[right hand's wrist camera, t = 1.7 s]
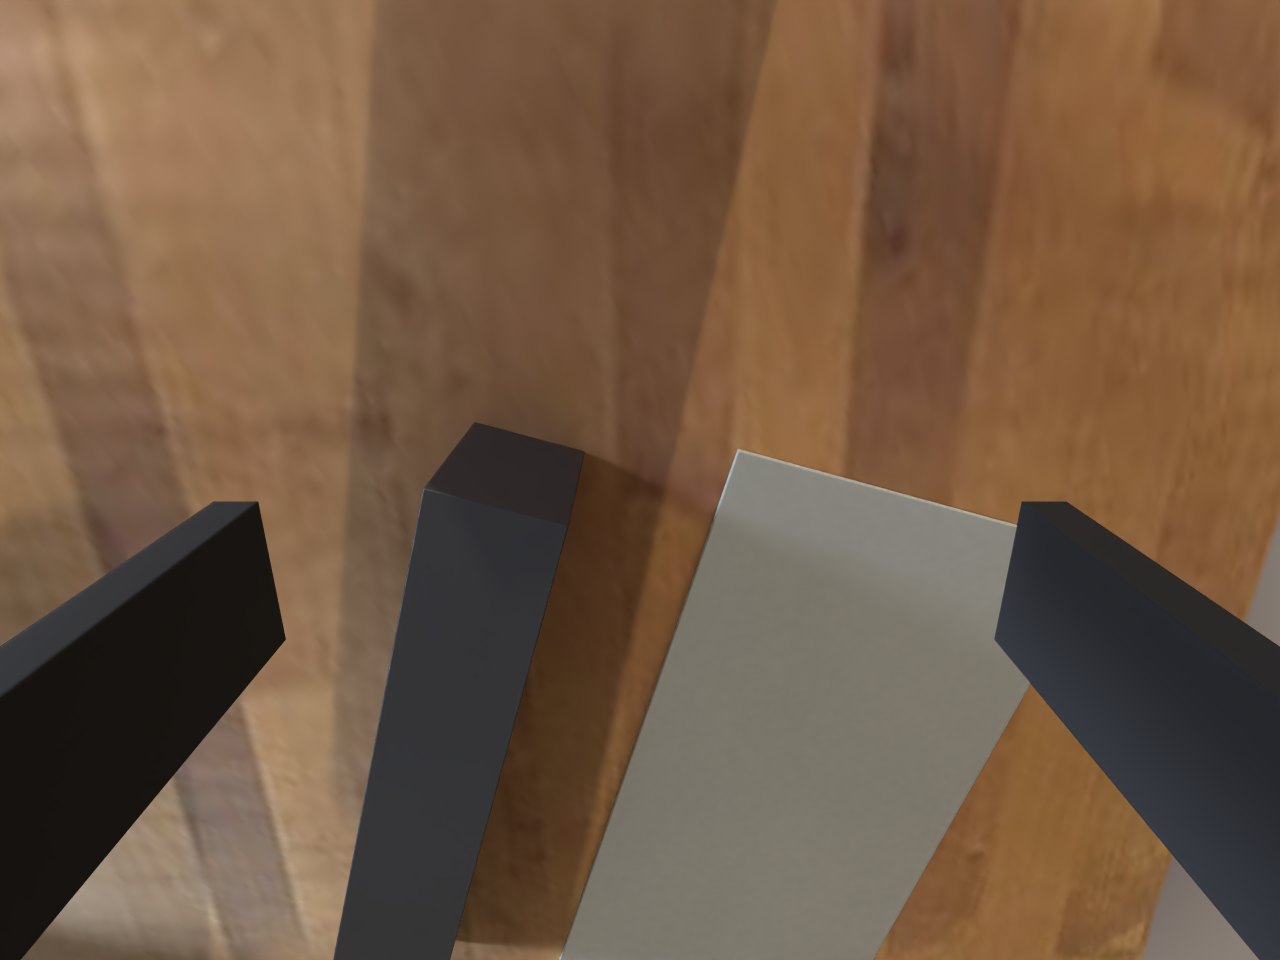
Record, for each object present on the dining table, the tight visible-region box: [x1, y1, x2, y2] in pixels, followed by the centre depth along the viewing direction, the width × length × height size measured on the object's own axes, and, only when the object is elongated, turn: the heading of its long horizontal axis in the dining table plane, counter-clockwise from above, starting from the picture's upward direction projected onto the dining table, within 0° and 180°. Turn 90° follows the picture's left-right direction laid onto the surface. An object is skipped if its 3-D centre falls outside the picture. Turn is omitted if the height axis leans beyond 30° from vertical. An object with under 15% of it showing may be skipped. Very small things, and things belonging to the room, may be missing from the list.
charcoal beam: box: [333, 423, 584, 960], centre depth 33 cm, size 32×5×8 cm, turn 164°
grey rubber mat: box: [559, 449, 1031, 960], centre depth 39 cm, size 18×36×1 cm, turn 164°
